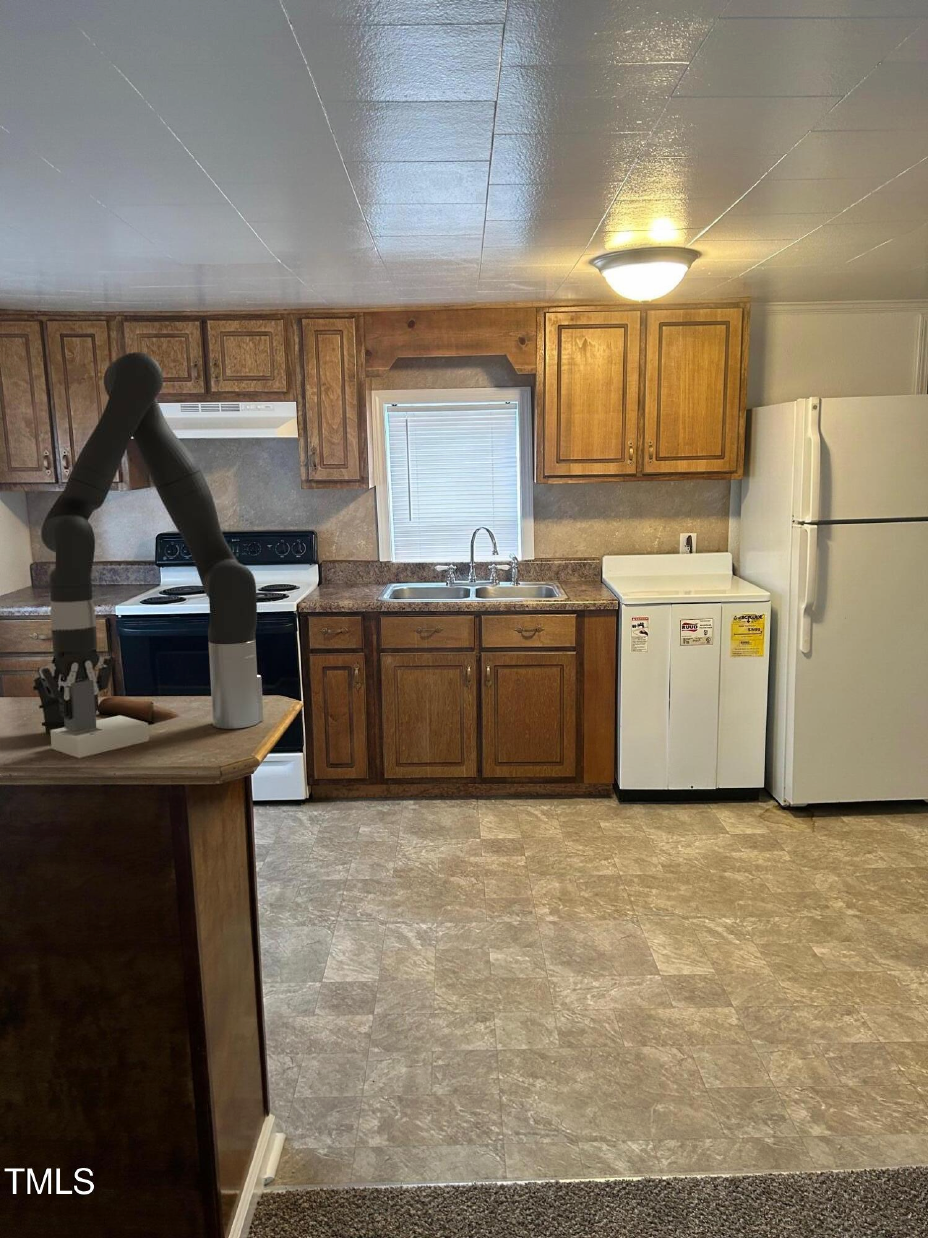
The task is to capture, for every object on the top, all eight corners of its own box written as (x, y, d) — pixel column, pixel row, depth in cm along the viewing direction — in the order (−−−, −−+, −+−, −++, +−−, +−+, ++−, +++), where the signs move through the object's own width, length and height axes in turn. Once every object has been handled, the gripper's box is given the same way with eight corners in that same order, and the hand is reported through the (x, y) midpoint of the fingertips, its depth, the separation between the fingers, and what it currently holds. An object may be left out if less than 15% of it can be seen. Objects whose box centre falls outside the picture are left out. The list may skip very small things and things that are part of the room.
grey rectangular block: (85, 724, 170) (82, 676, 169) (96, 727, 167) (93, 679, 166) (64, 728, 167) (61, 680, 166) (75, 732, 164) (72, 683, 163)
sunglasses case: (184, 715, 192) (170, 692, 188) (162, 738, 187) (147, 715, 184) (130, 706, 201) (115, 683, 198) (107, 727, 197) (92, 705, 193)
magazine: (87, 734, 171) (60, 661, 173) (51, 754, 179) (26, 684, 180) (104, 730, 175) (77, 658, 176) (68, 750, 182) (43, 681, 183)
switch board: (121, 732, 179) (119, 714, 178) (149, 740, 173) (147, 722, 172) (51, 748, 168) (50, 729, 168) (78, 758, 162) (77, 738, 161)
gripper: (99, 618, 172) (105, 706, 175) (24, 627, 161) (31, 721, 164) (120, 622, 168) (126, 712, 170) (44, 631, 157) (51, 727, 159)
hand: (79, 716), depth 167 cm, fingers closed on grey rectangular block, 4 cm apart
